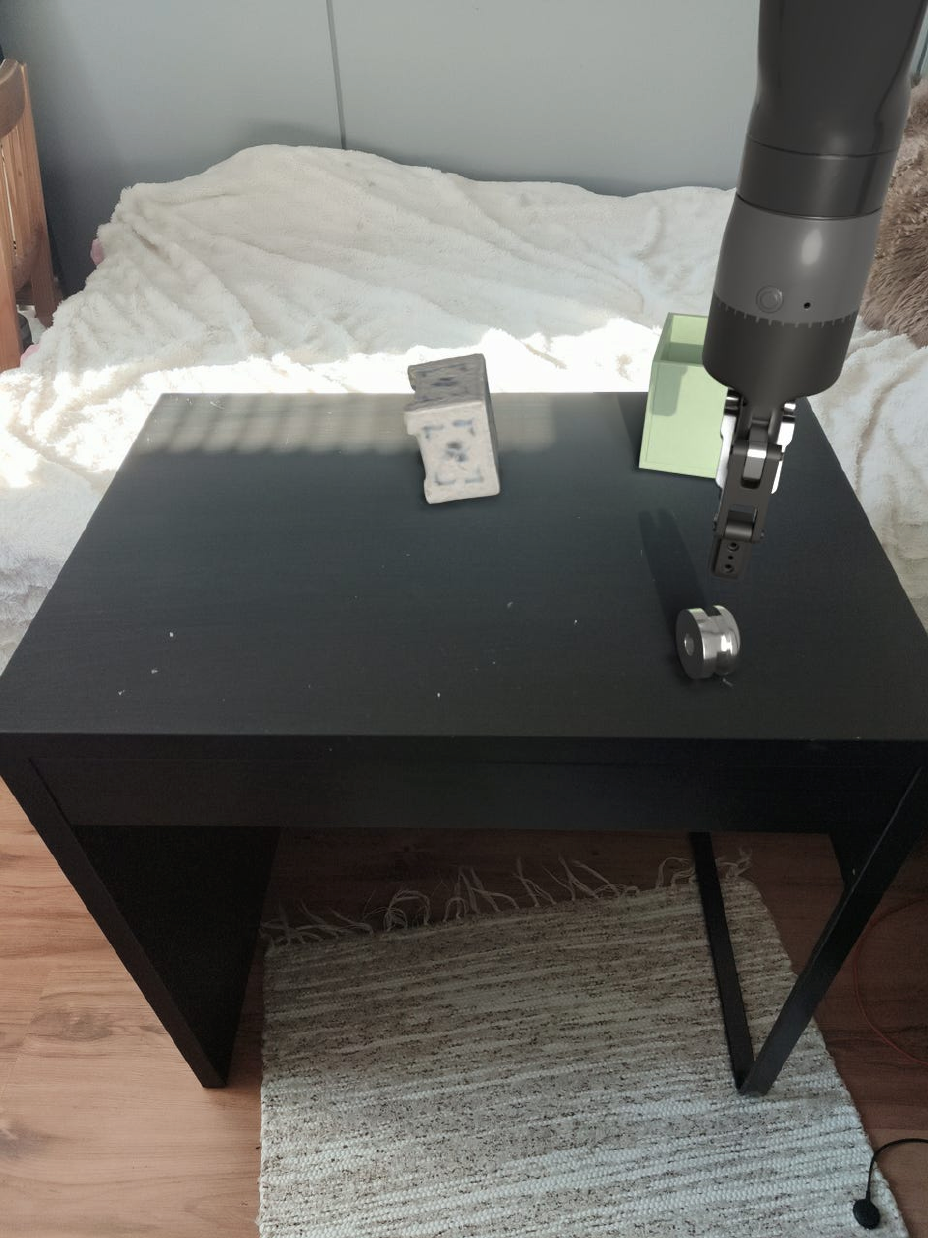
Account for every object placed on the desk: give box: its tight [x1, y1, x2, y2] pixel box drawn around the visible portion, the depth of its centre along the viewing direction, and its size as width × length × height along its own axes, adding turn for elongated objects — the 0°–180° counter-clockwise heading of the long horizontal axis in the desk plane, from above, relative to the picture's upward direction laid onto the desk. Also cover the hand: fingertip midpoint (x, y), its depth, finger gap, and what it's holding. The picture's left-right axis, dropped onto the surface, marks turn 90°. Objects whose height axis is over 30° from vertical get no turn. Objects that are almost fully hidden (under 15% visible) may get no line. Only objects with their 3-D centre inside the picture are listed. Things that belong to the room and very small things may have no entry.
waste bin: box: [638, 311, 728, 479], centre depth 86 cm, size 11×11×11 cm
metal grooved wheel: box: [675, 604, 742, 680], centre depth 64 cm, size 5×3×5 cm, turn 11°
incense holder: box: [402, 352, 501, 505], centre depth 82 cm, size 10×8×10 cm
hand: (729, 537), depth 58 cm, fingers open, 8 cm apart
